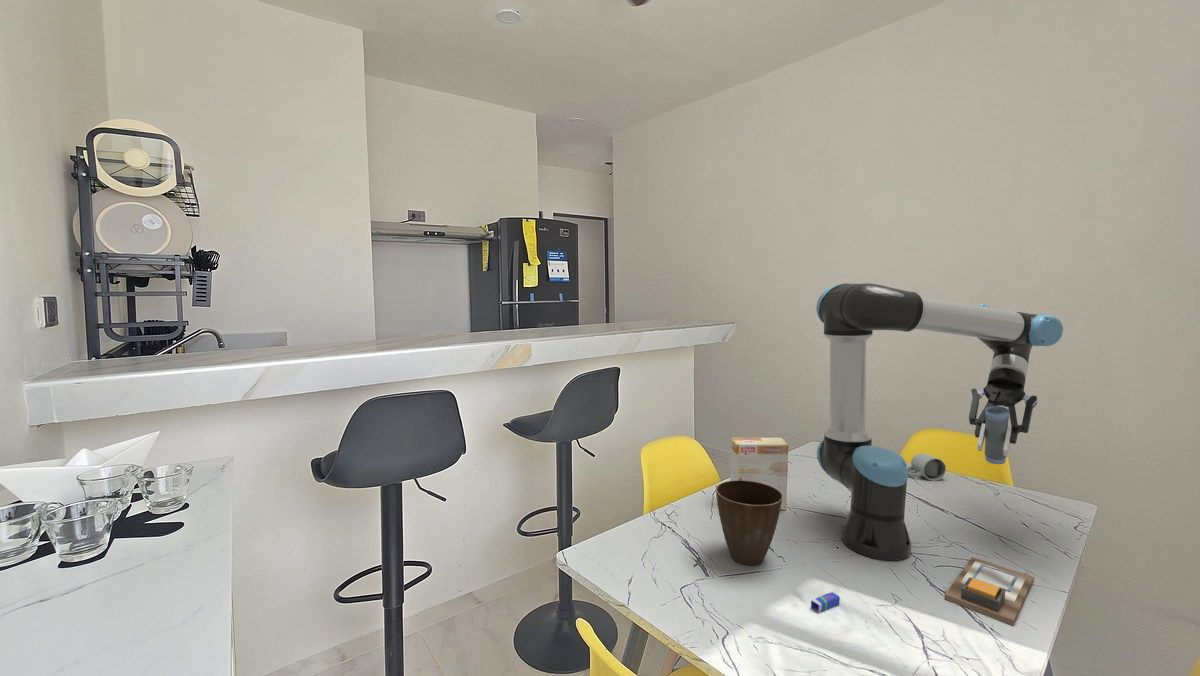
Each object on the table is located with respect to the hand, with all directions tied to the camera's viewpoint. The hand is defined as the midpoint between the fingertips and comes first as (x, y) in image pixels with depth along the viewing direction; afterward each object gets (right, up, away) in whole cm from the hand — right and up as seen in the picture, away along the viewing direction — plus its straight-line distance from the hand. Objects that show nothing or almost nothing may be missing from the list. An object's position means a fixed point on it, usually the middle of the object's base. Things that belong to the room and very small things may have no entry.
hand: (992, 450), depth 122 cm
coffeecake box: (-49, -22, +26) cm, 60 cm away
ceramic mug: (+14, -20, +48) cm, 54 cm away
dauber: (+4, -4, +5) cm, 8 cm away
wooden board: (-13, -26, -16) cm, 33 cm away
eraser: (-51, -27, -22) cm, 61 cm away
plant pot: (-61, -25, -3) cm, 66 cm away
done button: (-18, -25, -21) cm, 37 cm away
